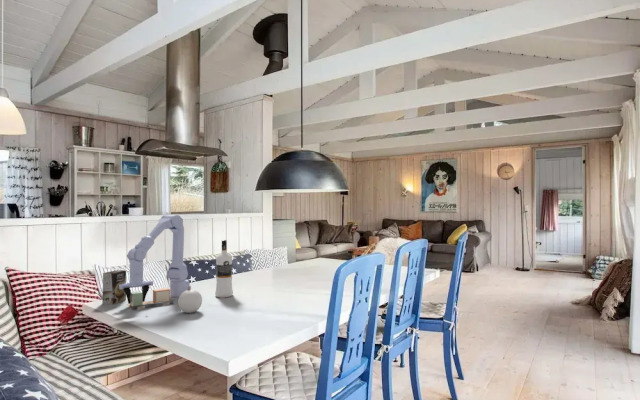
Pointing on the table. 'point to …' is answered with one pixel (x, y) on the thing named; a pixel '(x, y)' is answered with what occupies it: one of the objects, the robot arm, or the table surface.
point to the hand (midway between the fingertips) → (136, 302)
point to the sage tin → (136, 298)
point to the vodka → (224, 273)
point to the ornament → (190, 300)
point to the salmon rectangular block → (161, 295)
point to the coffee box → (113, 287)
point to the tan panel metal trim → (150, 305)
